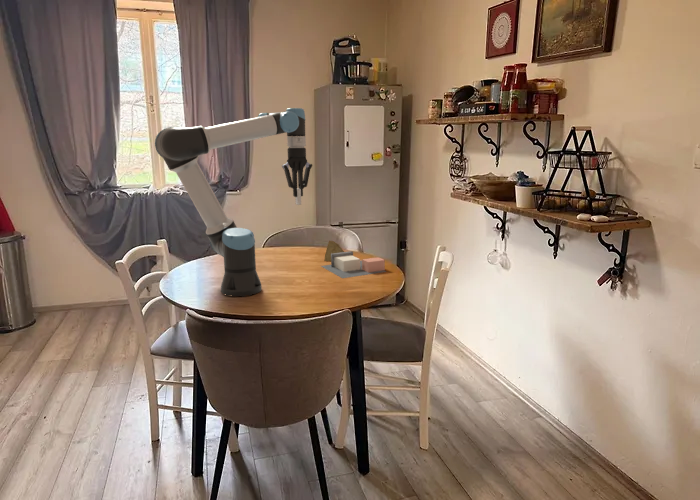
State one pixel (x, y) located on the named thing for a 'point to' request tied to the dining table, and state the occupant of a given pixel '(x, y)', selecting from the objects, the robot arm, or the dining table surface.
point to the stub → (373, 264)
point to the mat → (349, 273)
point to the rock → (332, 250)
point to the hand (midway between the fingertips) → (298, 204)
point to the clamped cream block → (345, 261)
